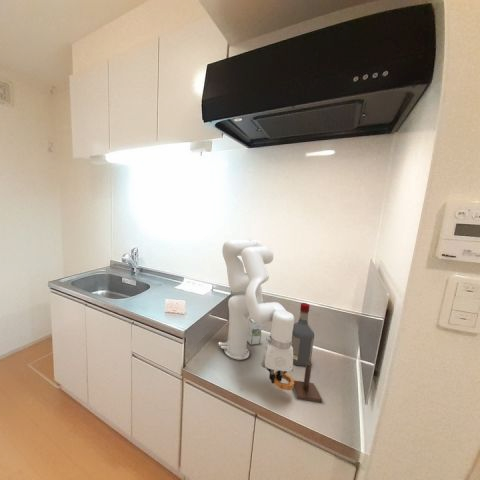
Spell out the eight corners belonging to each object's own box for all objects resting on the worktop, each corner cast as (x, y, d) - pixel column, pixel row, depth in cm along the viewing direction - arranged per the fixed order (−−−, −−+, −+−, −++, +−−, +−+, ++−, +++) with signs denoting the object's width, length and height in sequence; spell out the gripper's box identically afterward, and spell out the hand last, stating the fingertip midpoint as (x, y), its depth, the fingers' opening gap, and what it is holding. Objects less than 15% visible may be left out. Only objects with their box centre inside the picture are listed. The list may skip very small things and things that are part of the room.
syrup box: (254, 338, 146) (256, 315, 143) (260, 344, 140) (262, 320, 138) (245, 339, 145) (247, 315, 142) (250, 345, 139) (252, 321, 137)
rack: (297, 398, 103) (300, 369, 101) (290, 382, 112) (293, 355, 109) (321, 402, 102) (325, 372, 99) (312, 386, 110) (316, 358, 108)
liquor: (303, 355, 131) (310, 301, 126) (312, 367, 122) (320, 309, 117) (285, 354, 132) (291, 300, 127) (292, 365, 123) (299, 308, 118)
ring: (275, 388, 100) (275, 383, 100) (270, 374, 108) (271, 370, 107) (295, 391, 99) (296, 387, 99) (289, 377, 106) (290, 373, 106)
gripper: (261, 344, 98) (256, 385, 102) (305, 350, 95) (298, 391, 99) (257, 333, 105) (253, 371, 109) (298, 338, 102) (292, 377, 106)
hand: (274, 381), depth 104 cm, fingers closed on ring, 1 cm apart
